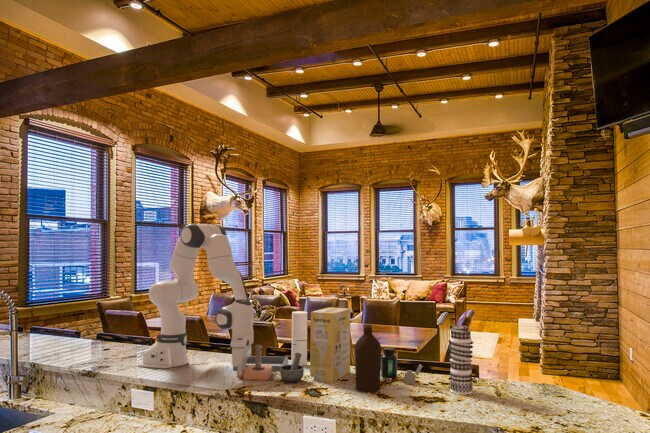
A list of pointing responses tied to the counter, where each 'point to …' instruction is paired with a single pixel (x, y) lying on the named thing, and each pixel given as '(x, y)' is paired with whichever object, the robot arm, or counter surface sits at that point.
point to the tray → (268, 362)
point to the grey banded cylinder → (460, 360)
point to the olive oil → (367, 361)
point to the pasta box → (330, 344)
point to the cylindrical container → (299, 336)
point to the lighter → (411, 375)
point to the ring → (256, 372)
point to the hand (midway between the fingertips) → (242, 372)
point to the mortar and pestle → (292, 371)
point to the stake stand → (258, 366)
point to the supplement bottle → (388, 363)
